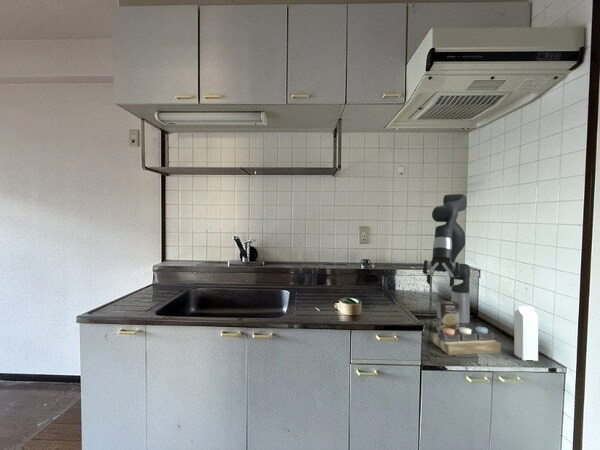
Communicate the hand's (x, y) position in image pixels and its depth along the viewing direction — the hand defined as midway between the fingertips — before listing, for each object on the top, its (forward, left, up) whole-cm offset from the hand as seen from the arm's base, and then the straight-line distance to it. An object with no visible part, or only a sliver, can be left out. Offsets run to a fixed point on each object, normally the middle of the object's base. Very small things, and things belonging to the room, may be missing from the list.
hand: (439, 285), depth 128 cm
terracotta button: (-9, +9, -25) cm, 29 cm away
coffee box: (-27, +19, -32) cm, 46 cm away
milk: (+3, +36, -32) cm, 48 cm away
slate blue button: (-9, +25, -25) cm, 37 cm away
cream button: (-9, +17, -25) cm, 32 cm away
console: (-9, +17, -31) cm, 37 cm away
